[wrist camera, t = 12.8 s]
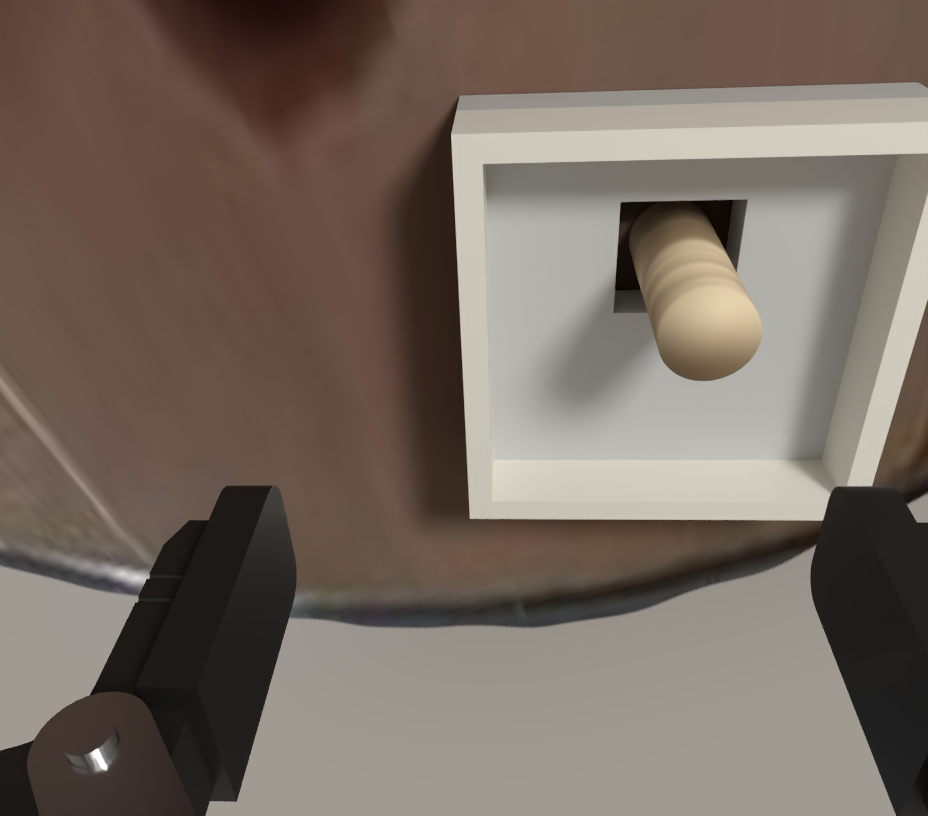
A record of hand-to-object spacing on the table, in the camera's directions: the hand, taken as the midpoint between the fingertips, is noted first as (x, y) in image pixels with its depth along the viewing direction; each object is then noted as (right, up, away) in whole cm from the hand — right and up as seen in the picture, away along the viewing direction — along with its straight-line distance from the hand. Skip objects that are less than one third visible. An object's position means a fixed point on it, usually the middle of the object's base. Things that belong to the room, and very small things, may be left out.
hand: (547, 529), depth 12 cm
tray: (+9, +8, +30) cm, 33 cm away
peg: (+9, +10, +29) cm, 32 cm away
